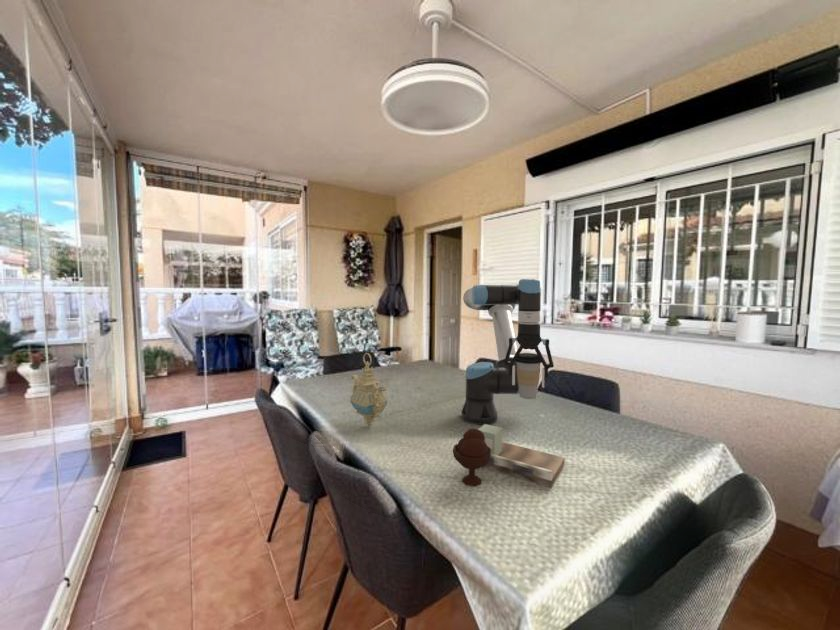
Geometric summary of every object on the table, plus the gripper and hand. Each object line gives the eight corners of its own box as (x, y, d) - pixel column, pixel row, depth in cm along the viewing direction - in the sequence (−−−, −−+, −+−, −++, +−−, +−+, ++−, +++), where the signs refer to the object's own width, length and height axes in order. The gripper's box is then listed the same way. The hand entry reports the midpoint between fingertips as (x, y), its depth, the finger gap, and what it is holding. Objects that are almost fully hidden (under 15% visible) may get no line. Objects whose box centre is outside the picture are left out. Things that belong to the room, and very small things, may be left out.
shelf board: (472, 464, 112) (472, 450, 112) (492, 445, 125) (492, 432, 125) (550, 488, 99) (551, 472, 98) (564, 463, 112) (564, 450, 111)
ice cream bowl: (449, 472, 107) (449, 424, 106) (485, 470, 108) (486, 422, 107) (456, 492, 97) (456, 439, 95) (496, 490, 98) (496, 437, 96)
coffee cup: (519, 401, 122) (520, 358, 121) (510, 393, 131) (511, 353, 130) (546, 400, 123) (547, 357, 122) (535, 392, 132) (535, 352, 131)
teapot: (342, 421, 148) (340, 350, 146) (366, 415, 156) (364, 347, 153) (372, 440, 130) (370, 359, 127) (397, 432, 137) (396, 355, 135)
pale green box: (476, 454, 114) (476, 430, 114) (484, 447, 119) (484, 424, 119) (494, 459, 111) (494, 434, 110) (501, 451, 116) (501, 427, 115)
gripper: (496, 323, 125) (495, 385, 127) (563, 324, 118) (561, 390, 120) (498, 321, 132) (497, 380, 134) (562, 322, 125) (560, 384, 127)
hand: (528, 385), depth 127 cm, fingers closed on coffee cup, 9 cm apart
